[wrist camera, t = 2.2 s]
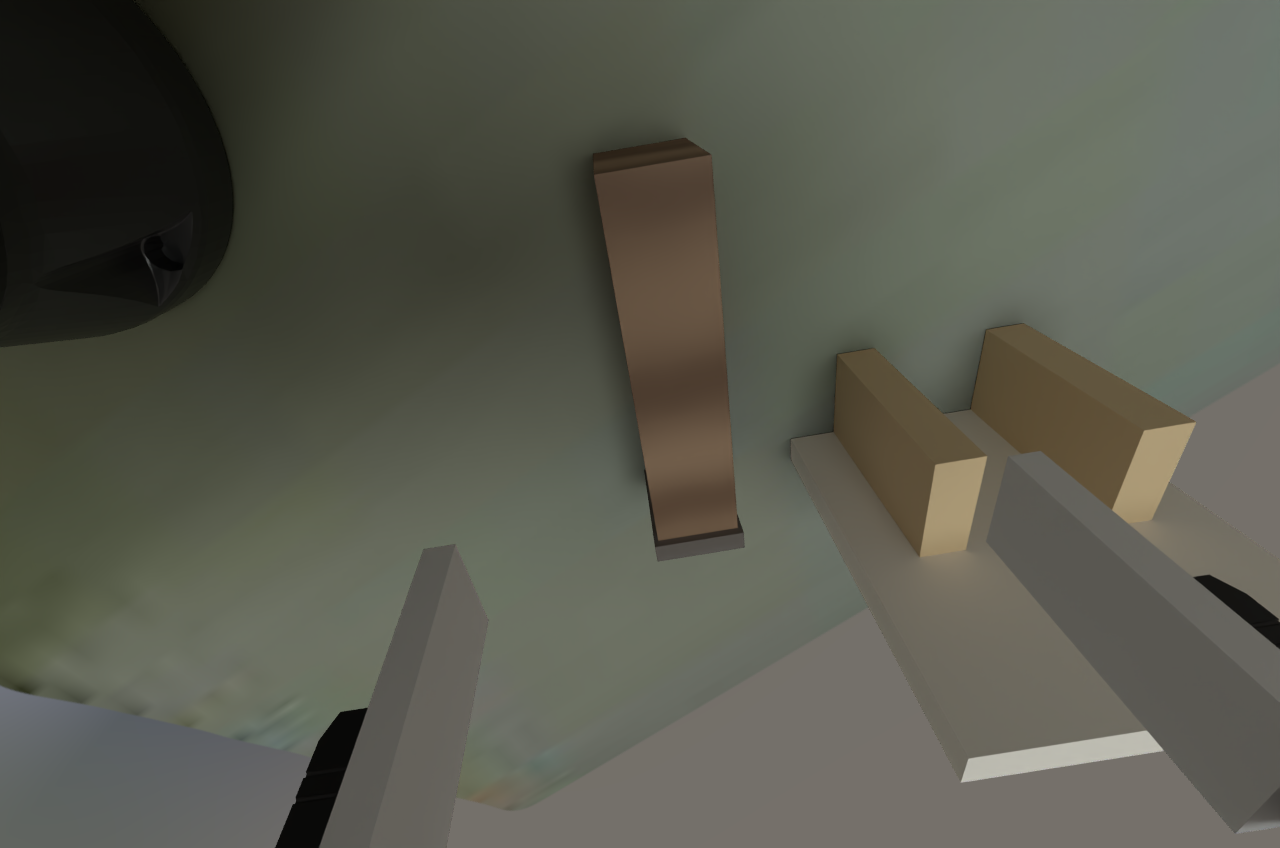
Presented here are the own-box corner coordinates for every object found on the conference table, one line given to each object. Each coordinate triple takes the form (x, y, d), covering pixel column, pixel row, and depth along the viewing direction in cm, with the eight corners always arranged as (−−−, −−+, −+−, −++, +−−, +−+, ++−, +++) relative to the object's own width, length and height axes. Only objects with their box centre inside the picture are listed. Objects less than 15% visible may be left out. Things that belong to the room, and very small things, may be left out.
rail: (588, 154, 24) (588, 177, 19) (690, 137, 24) (719, 155, 18) (646, 482, 34) (657, 561, 28) (719, 470, 33) (744, 547, 28)
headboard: (790, 362, 30) (1000, 659, 15) (1070, 315, 30) (1576, 568, 15) (790, 459, 33) (960, 782, 18) (1041, 418, 33) (1425, 709, 18)
